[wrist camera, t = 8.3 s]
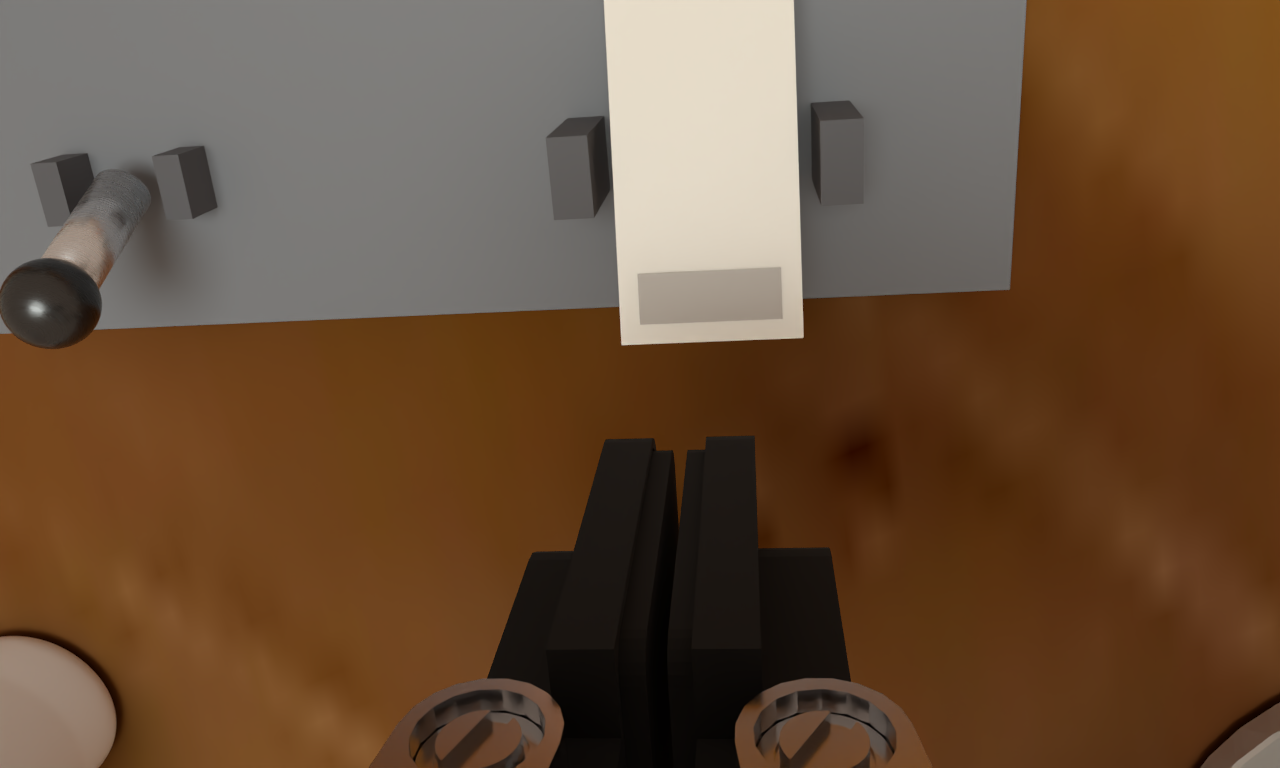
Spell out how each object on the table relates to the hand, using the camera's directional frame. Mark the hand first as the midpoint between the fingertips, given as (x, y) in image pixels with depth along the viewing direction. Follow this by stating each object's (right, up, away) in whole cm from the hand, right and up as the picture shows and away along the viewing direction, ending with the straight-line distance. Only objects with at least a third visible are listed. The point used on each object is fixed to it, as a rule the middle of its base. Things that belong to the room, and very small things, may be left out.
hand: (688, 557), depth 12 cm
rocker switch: (+1, +6, +9) cm, 11 cm away
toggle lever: (-12, +6, +12) cm, 18 cm away
